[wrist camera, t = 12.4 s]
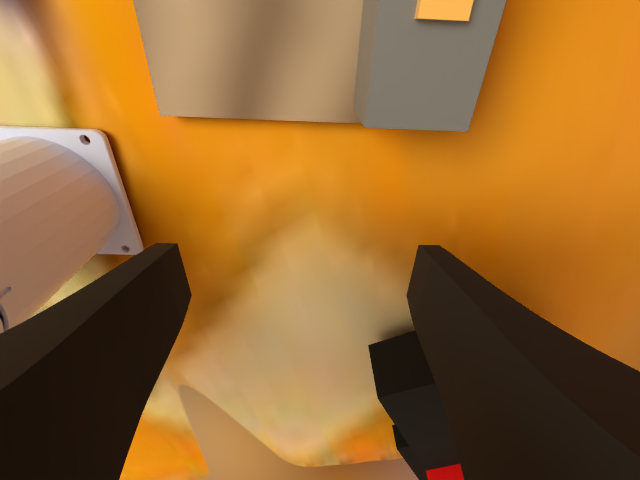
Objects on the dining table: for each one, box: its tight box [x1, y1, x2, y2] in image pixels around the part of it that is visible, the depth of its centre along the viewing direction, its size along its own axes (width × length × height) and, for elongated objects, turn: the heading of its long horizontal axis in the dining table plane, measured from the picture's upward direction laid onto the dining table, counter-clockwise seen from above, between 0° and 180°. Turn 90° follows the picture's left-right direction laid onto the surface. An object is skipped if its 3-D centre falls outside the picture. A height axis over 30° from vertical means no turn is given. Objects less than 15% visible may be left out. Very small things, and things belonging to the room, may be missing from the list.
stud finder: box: [353, 0, 506, 132], centre depth 12 cm, size 4×6×4 cm, turn 178°
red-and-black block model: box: [368, 331, 464, 480], centre depth 27 cm, size 15×8×25 cm
